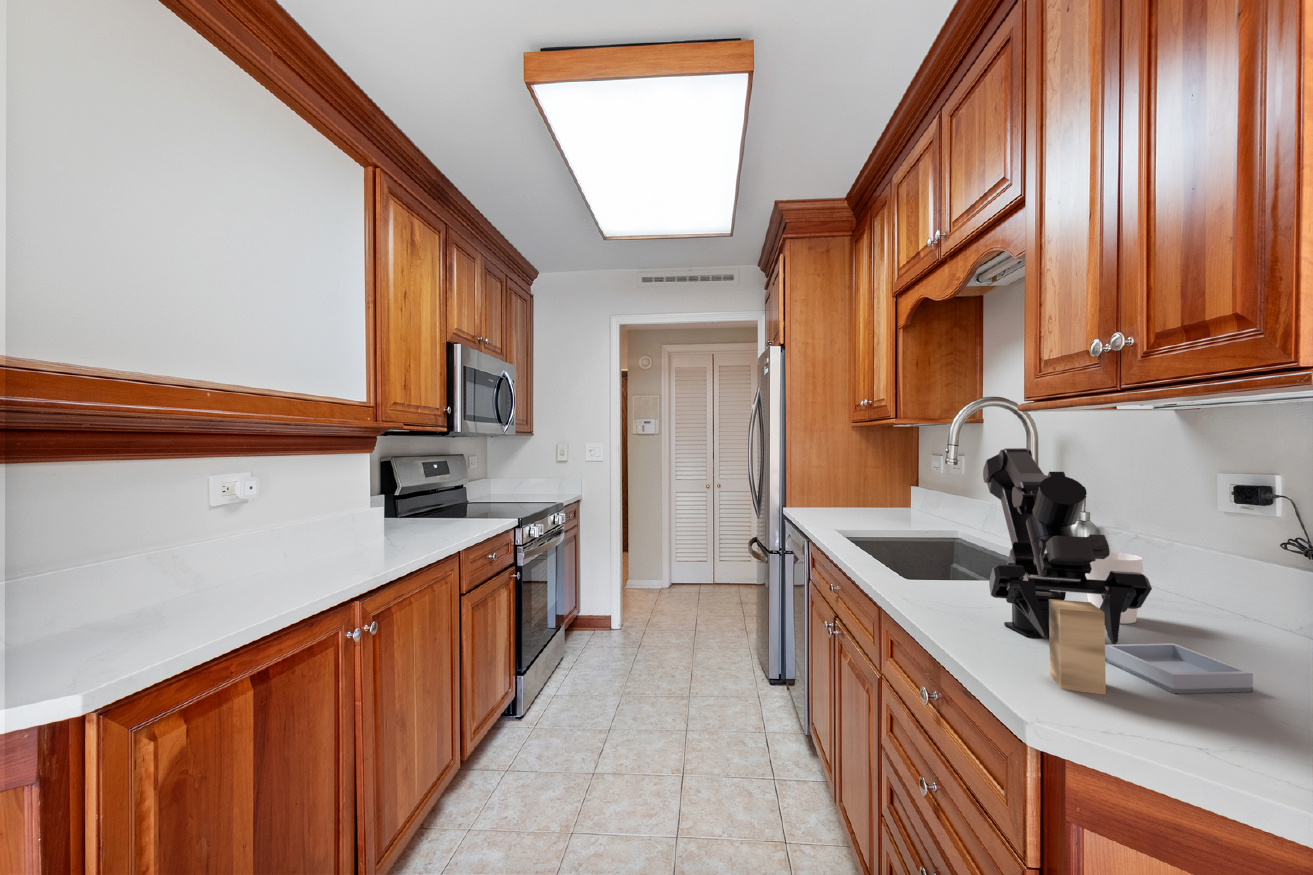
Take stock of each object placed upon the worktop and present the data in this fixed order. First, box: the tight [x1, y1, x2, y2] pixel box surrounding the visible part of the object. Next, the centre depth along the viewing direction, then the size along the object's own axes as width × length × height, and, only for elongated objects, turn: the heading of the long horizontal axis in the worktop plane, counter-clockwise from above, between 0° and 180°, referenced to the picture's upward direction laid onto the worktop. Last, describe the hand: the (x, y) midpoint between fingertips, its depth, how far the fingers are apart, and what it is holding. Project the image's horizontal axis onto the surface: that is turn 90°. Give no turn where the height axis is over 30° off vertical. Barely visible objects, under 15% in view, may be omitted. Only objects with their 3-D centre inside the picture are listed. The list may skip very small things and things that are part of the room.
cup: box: [1085, 551, 1145, 625], centre depth 105 cm, size 9×9×12 cm
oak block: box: [1048, 599, 1107, 695], centre depth 77 cm, size 5×5×11 cm
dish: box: [1105, 642, 1254, 694], centre depth 79 cm, size 11×11×2 cm
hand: (1079, 639), depth 76 cm, fingers open, 8 cm apart
